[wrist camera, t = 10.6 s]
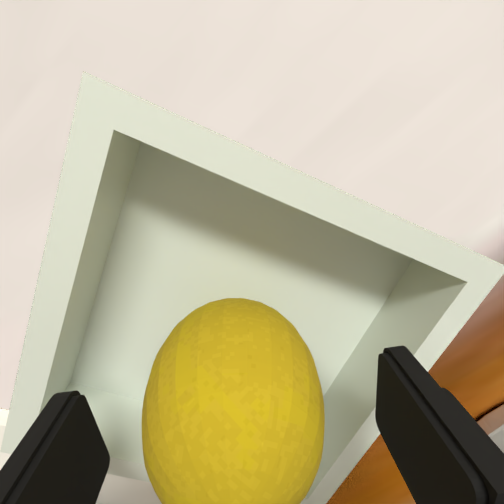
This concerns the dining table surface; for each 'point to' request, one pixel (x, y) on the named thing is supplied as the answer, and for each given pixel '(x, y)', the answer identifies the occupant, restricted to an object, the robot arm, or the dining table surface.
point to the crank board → (114, 487)
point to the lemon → (233, 409)
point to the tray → (222, 274)
